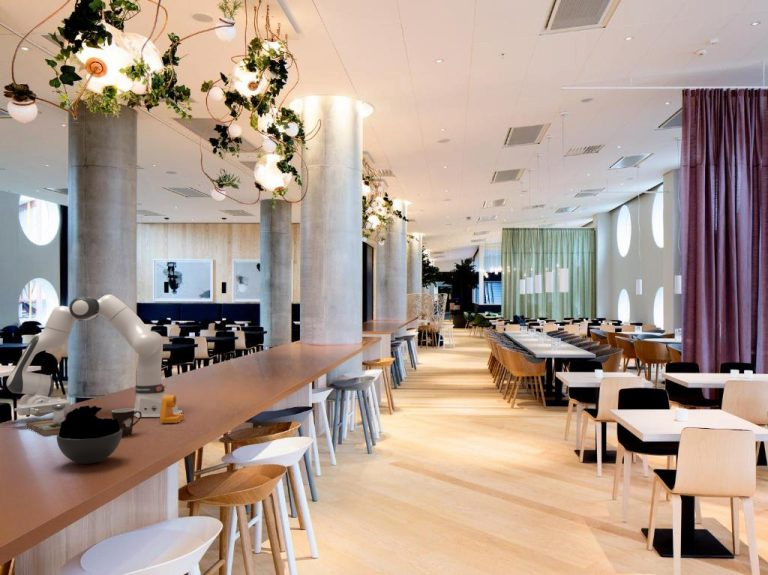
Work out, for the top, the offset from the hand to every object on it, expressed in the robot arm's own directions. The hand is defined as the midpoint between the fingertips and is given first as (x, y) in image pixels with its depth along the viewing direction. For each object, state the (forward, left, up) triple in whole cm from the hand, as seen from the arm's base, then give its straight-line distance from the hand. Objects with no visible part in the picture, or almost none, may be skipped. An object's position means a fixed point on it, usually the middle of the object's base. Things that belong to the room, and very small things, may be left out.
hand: (49, 410), depth 267 cm
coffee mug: (-41, +8, -8) cm, 42 cm away
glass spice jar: (-9, +6, -8) cm, 14 cm away
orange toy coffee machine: (-46, -19, -8) cm, 50 cm away
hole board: (-4, +3, -8) cm, 9 cm away
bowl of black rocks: (-53, +49, -8) cm, 72 cm away
